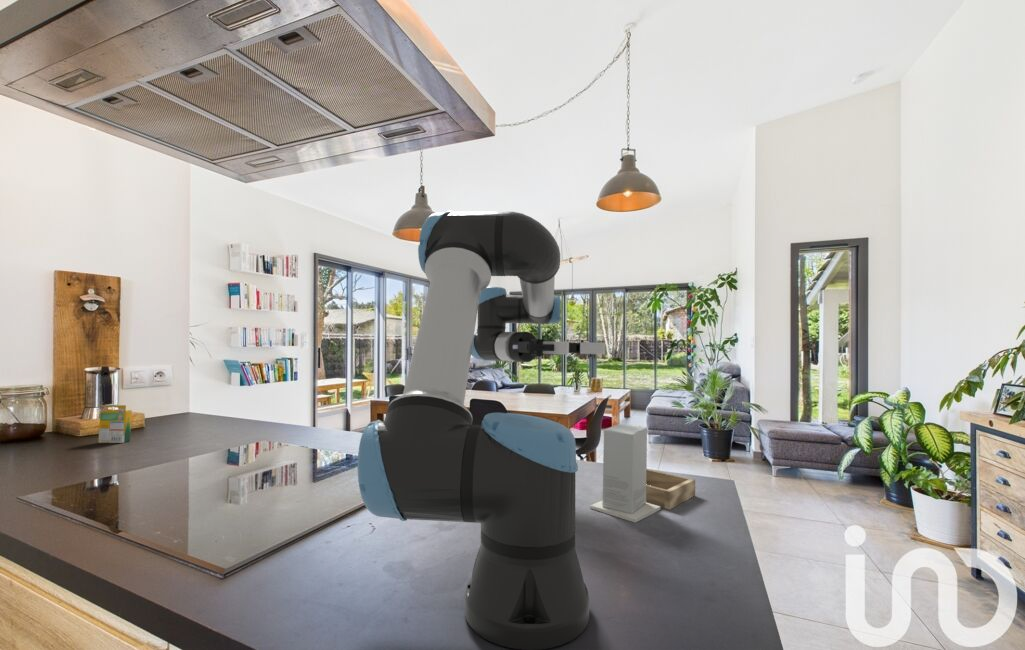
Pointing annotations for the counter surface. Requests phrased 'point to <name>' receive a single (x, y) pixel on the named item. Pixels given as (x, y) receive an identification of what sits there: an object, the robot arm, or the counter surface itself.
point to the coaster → (634, 517)
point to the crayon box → (114, 424)
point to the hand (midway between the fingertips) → (587, 348)
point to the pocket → (668, 489)
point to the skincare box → (624, 467)
